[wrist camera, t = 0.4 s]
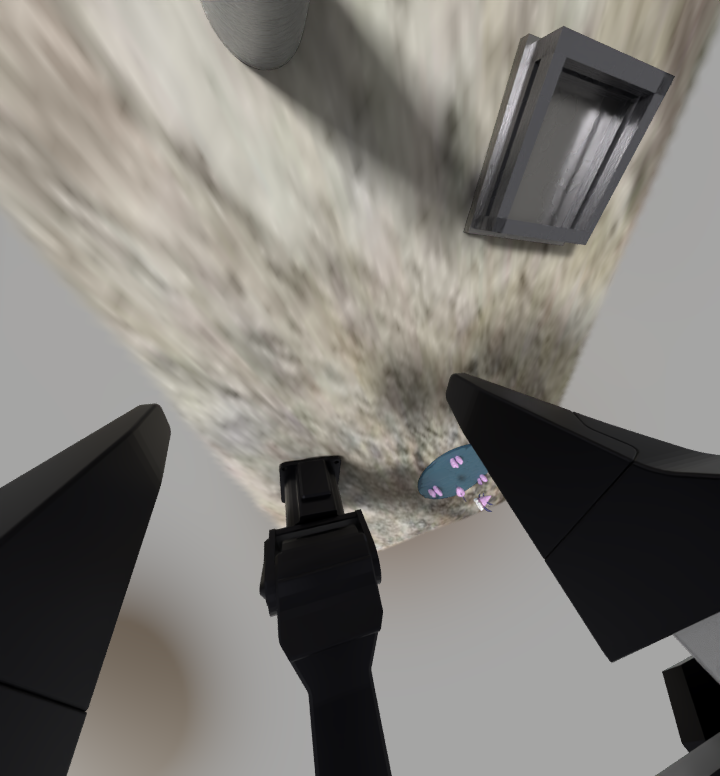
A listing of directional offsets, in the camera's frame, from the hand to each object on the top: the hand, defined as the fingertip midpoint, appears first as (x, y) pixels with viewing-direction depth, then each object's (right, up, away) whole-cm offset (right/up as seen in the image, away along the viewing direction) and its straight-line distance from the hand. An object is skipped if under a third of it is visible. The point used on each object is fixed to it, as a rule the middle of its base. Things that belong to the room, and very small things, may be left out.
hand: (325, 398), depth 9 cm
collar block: (+13, +16, +10) cm, 23 cm away
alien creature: (+15, -12, +31) cm, 36 cm away
